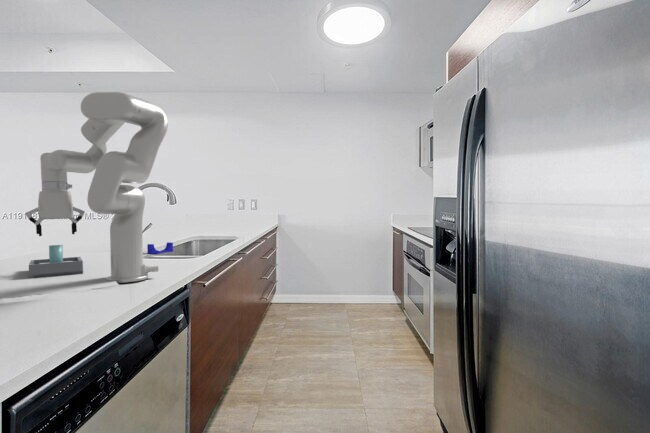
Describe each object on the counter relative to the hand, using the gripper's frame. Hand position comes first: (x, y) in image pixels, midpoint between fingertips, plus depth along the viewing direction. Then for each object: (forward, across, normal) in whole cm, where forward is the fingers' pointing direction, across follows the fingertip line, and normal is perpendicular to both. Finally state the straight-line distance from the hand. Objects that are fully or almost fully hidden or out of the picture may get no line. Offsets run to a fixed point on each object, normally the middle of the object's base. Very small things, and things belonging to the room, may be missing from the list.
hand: (57, 235), depth 133 cm
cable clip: (+14, -42, -34) cm, 56 cm away
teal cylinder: (+13, +1, -1) cm, 13 cm away
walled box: (+14, +1, -1) cm, 14 cm away
